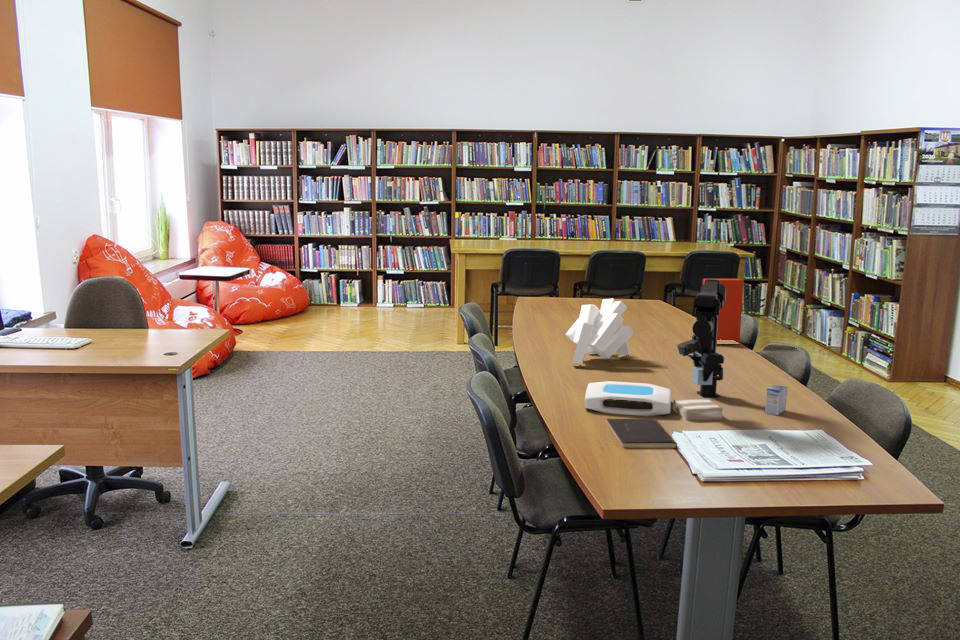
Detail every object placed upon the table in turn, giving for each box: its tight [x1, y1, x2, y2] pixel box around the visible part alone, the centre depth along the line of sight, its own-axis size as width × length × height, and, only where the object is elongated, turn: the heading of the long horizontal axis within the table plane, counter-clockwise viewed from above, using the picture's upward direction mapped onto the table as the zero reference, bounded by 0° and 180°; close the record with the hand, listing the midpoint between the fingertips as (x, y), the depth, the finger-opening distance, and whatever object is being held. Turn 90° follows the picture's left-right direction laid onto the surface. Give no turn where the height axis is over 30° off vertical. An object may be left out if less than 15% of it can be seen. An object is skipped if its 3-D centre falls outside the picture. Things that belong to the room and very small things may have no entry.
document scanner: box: [584, 380, 672, 417], centre depth 262 cm, size 21×28×6 cm
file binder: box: [702, 278, 744, 344], centre depth 373 cm, size 8×17×32 cm, turn 95°
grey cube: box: [690, 366, 713, 386], centre depth 250 cm, size 5×5×5 cm
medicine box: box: [764, 383, 788, 416], centre depth 256 cm, size 8×4×9 cm, turn 141°
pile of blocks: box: [565, 297, 635, 365], centre depth 333 cm, size 35×30×35 cm
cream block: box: [672, 398, 723, 421], centre depth 252 cm, size 12×12×4 cm
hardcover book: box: [606, 418, 678, 449], centre depth 230 cm, size 16×23×2 cm
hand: (701, 379), depth 250 cm, fingers closed on grey cube, 5 cm apart
